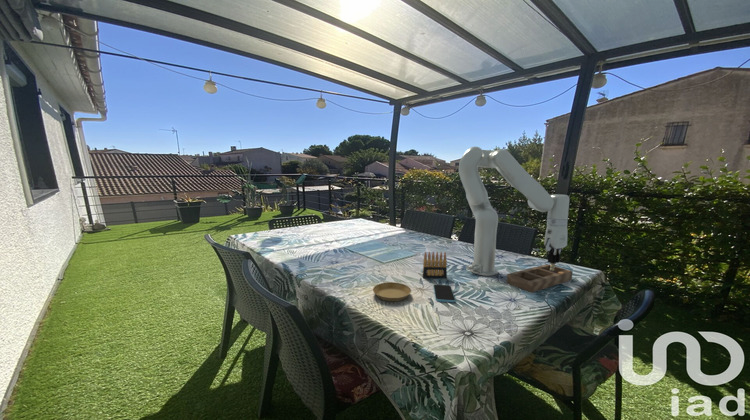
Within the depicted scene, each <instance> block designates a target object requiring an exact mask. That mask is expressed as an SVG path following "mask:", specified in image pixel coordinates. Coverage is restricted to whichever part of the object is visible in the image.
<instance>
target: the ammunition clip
mask: <svg viewBox="0 0 750 420" xmlns="http://www.w3.org/2000/svg"><path fill="white" fill-rule="evenodd" d="M447 265H448V263H447V252H444V254H443V252H442V251H440V253H439V252H438V251H437V252H436V253H435V252H434V251H433V252H432V254H431V252H430V251H429V252H428V255H427V252H426V251H425V252H424V254H423V265H422V278H423V279H447V278H448V275H447V273H448V272H447V271H448V269H447V268H448V267H447Z"/></svg>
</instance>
